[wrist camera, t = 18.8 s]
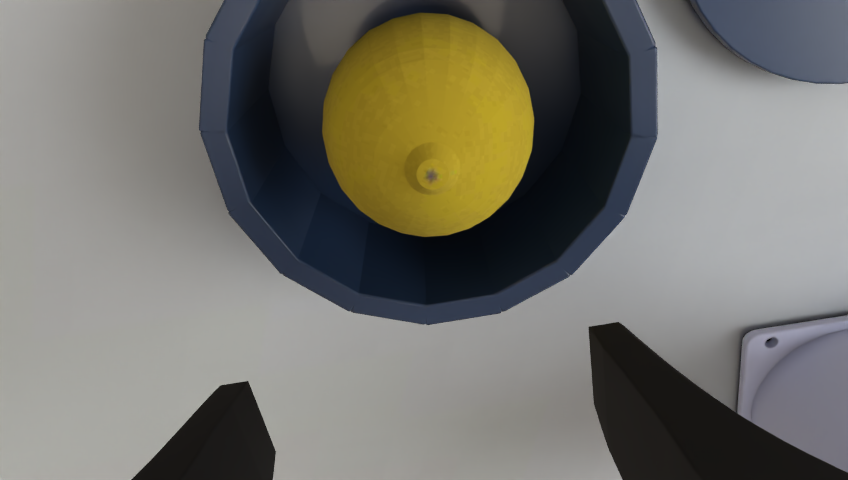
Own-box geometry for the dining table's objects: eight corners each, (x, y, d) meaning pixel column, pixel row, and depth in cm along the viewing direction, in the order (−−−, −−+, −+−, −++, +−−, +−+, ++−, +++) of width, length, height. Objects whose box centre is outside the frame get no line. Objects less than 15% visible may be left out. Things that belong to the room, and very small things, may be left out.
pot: (586, -147, 17) (656, -181, 12) (604, 211, 22) (659, 288, 17) (203, -68, 18) (126, -72, 13) (304, 262, 23) (276, 350, 18)
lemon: (338, -6, 18) (293, 29, 11) (518, 5, 19) (587, 46, 11) (339, 166, 21) (302, 285, 14) (498, 174, 21) (544, 295, 14)
